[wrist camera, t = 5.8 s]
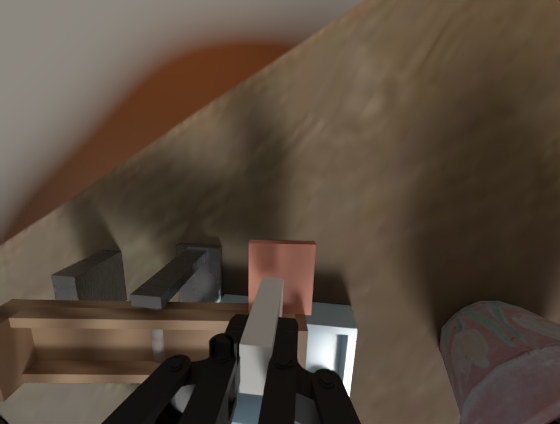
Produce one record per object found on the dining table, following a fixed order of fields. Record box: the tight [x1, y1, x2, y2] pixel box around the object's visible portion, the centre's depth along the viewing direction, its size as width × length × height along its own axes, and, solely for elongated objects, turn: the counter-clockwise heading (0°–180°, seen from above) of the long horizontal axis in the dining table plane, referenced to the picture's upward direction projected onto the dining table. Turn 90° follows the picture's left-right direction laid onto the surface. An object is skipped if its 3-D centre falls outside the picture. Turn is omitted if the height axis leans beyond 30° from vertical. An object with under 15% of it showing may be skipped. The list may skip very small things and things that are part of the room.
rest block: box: [51, 250, 127, 301], centre depth 29 cm, size 2×6×6 cm, turn 178°
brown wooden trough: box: [0, 240, 316, 402], centre depth 20 cm, size 24×12×4 cm, turn 88°
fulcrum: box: [130, 243, 223, 384], centre depth 26 cm, size 5×10×10 cm, turn 178°
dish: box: [220, 294, 357, 424], centre depth 30 cm, size 15×15×4 cm
